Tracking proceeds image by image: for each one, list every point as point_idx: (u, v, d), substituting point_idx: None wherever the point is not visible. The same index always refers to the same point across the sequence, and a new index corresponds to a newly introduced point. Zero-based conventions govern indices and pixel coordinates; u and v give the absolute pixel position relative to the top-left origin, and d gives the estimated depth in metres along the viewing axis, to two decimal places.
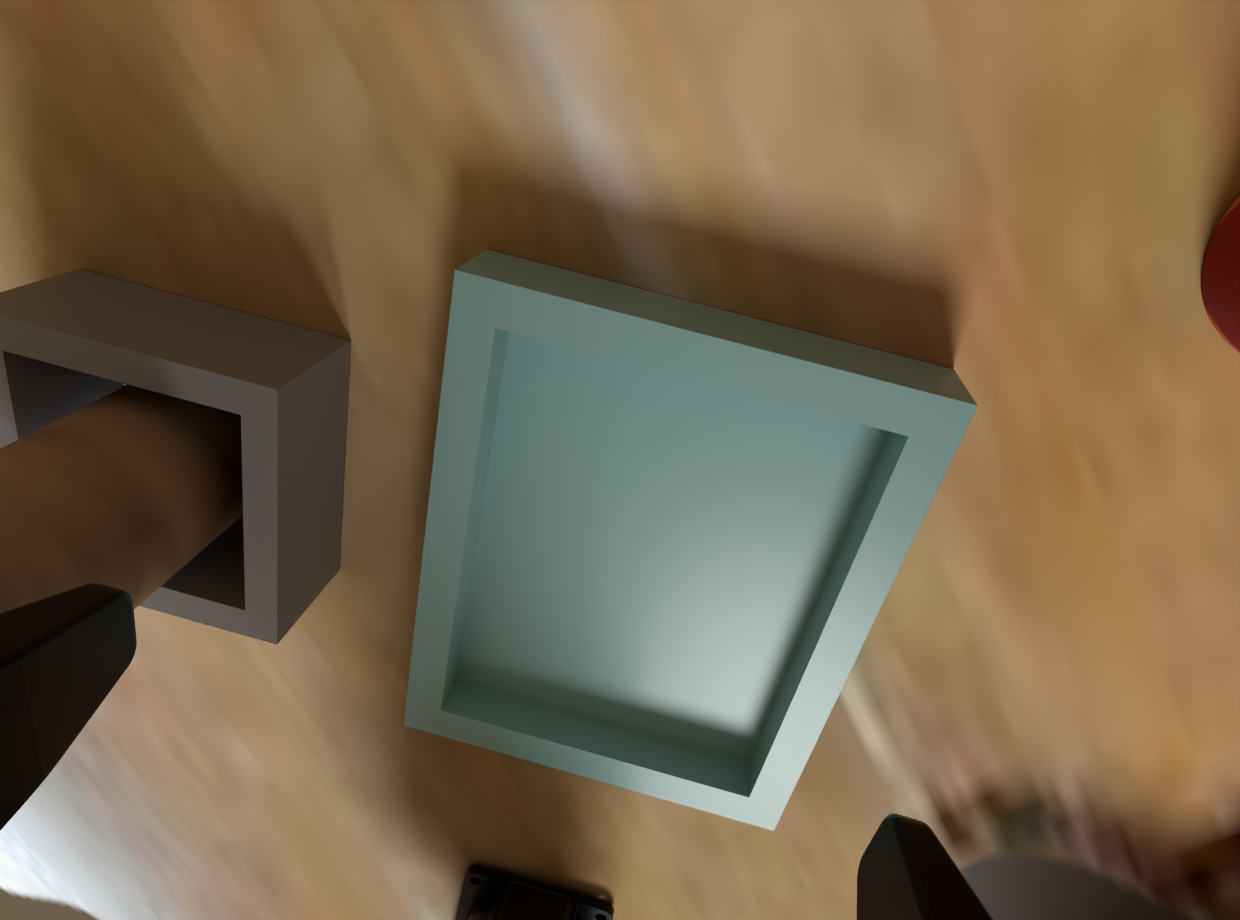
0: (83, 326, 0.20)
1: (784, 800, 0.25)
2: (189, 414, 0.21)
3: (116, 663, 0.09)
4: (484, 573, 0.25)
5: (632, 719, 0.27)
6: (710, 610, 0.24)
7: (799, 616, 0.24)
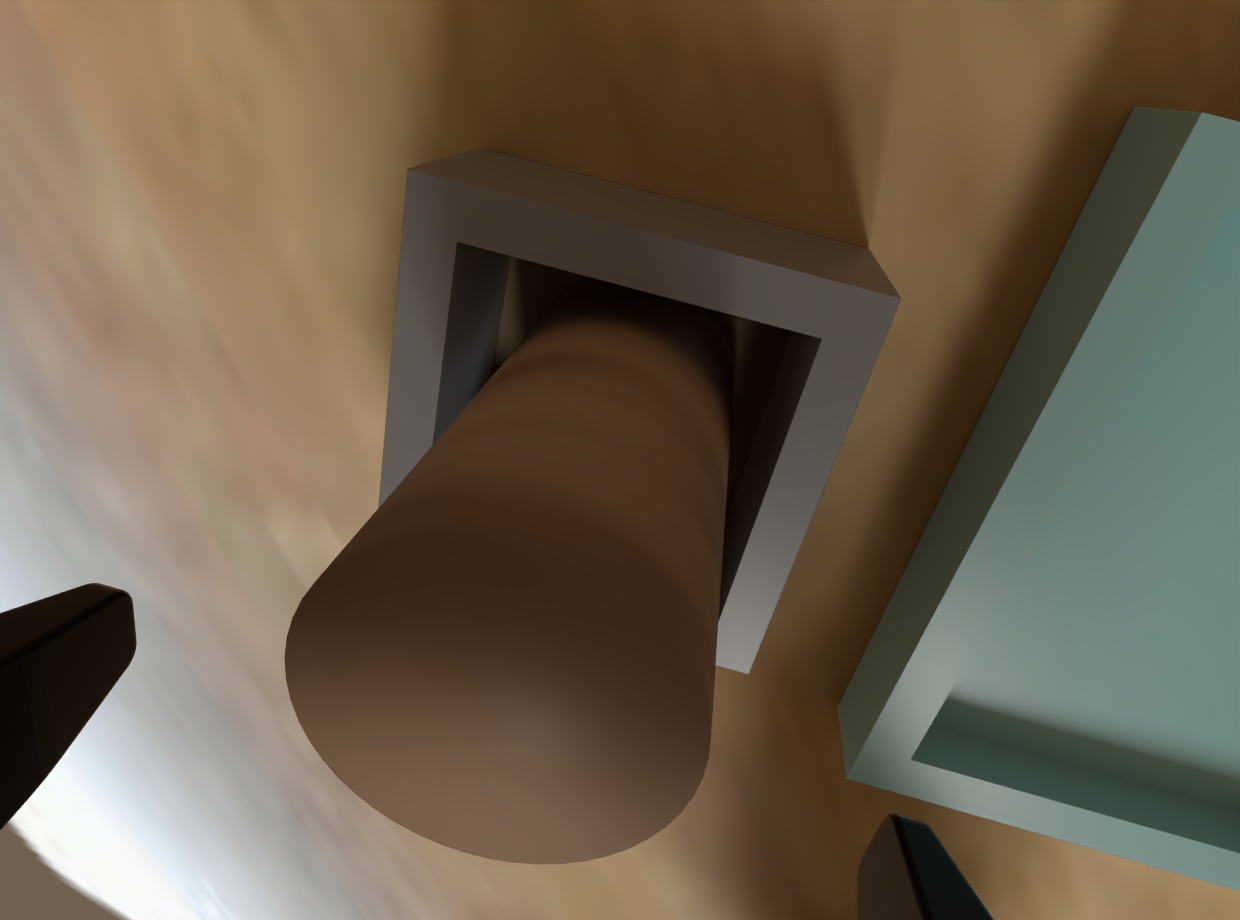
0: (578, 206, 0.14)
1: None
2: (689, 345, 0.15)
3: (116, 663, 0.09)
4: None
5: (1143, 771, 0.20)
6: None
7: None
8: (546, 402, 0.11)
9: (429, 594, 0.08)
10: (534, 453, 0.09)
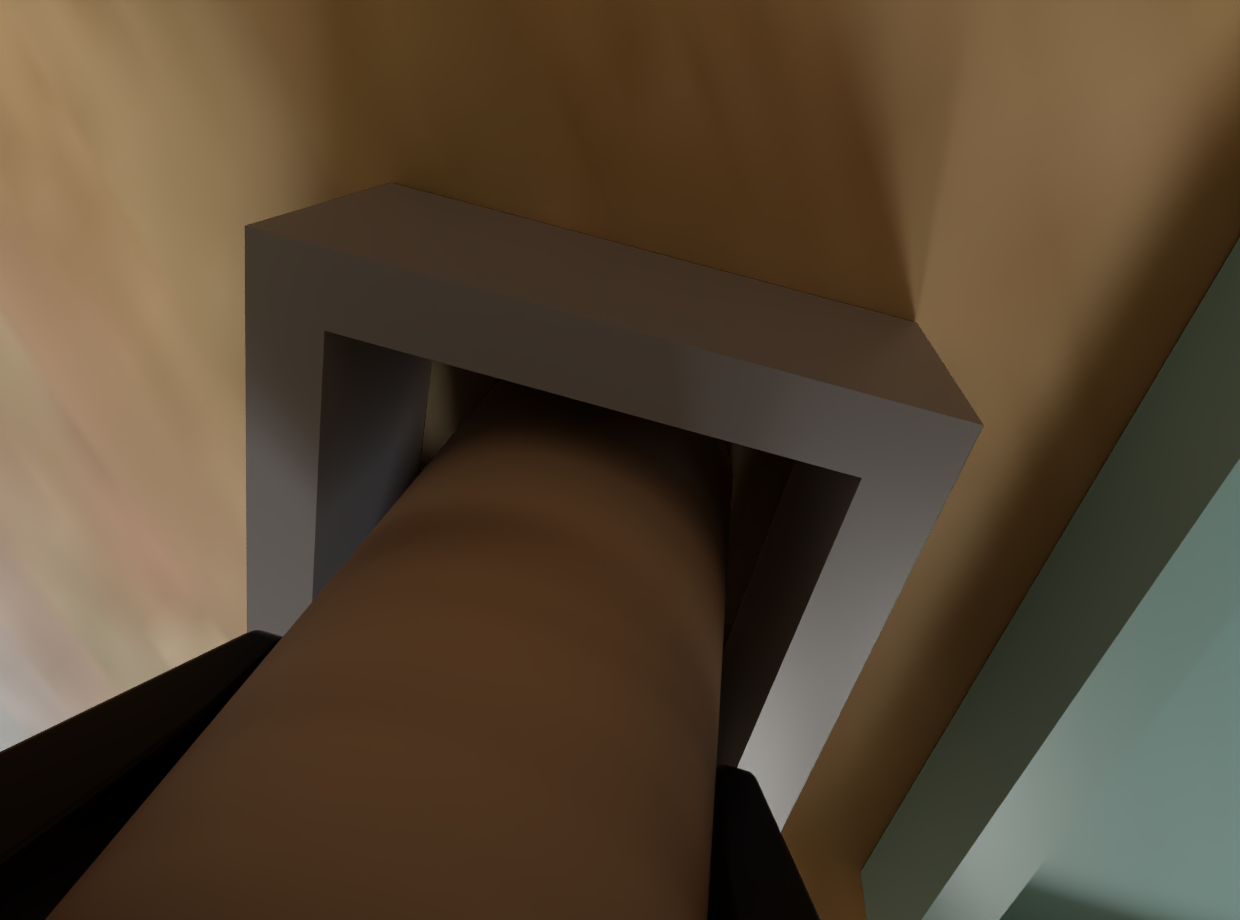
0: (503, 279, 0.09)
1: None
2: (668, 468, 0.10)
3: None
4: None
5: None
6: None
7: None
8: (412, 638, 0.06)
9: None
10: (352, 801, 0.05)
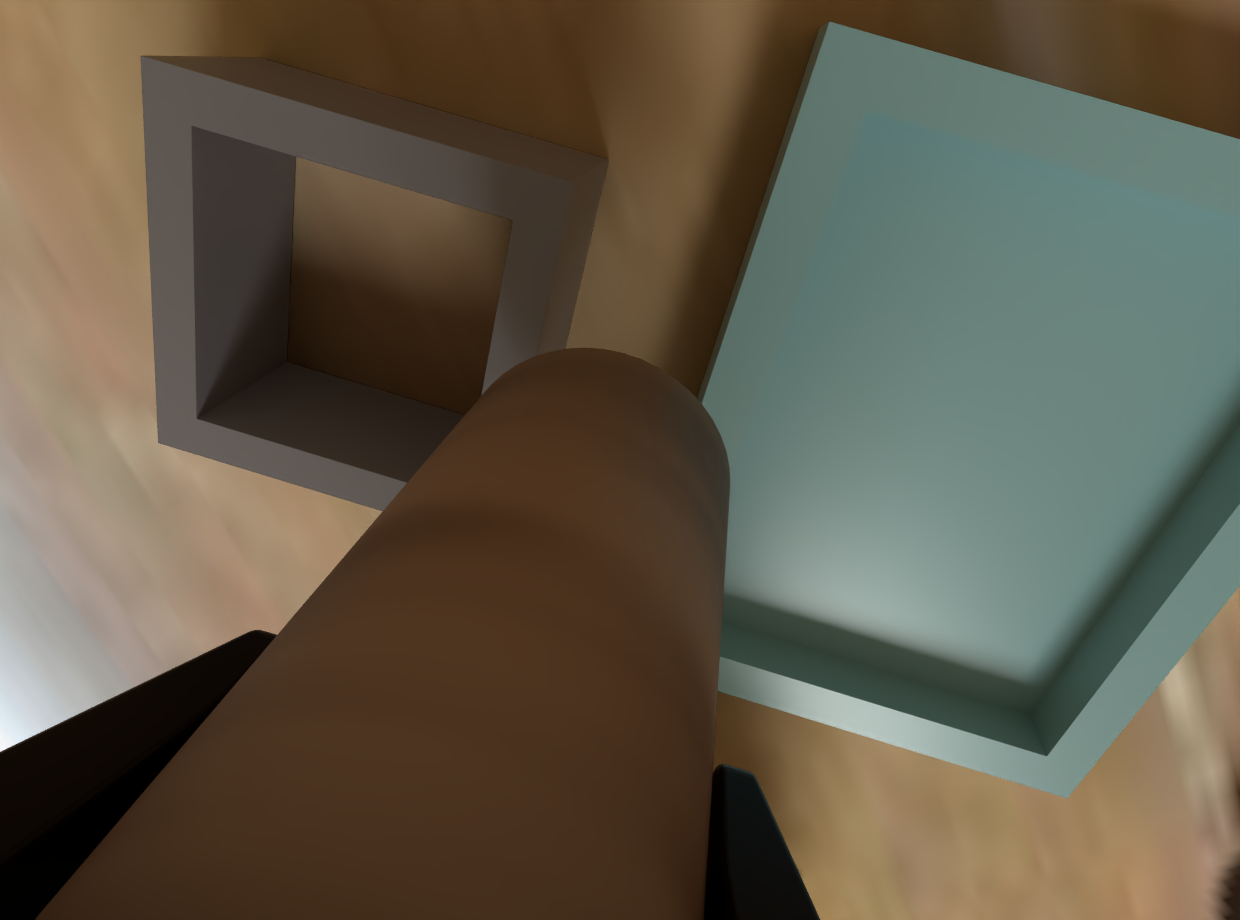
0: (301, 96, 0.15)
1: (1093, 760, 0.21)
2: (666, 465, 0.10)
3: None
4: (740, 470, 0.20)
5: (890, 661, 0.22)
6: (1028, 521, 0.19)
7: (1145, 530, 0.19)
8: (409, 634, 0.06)
9: None
10: (347, 796, 0.05)
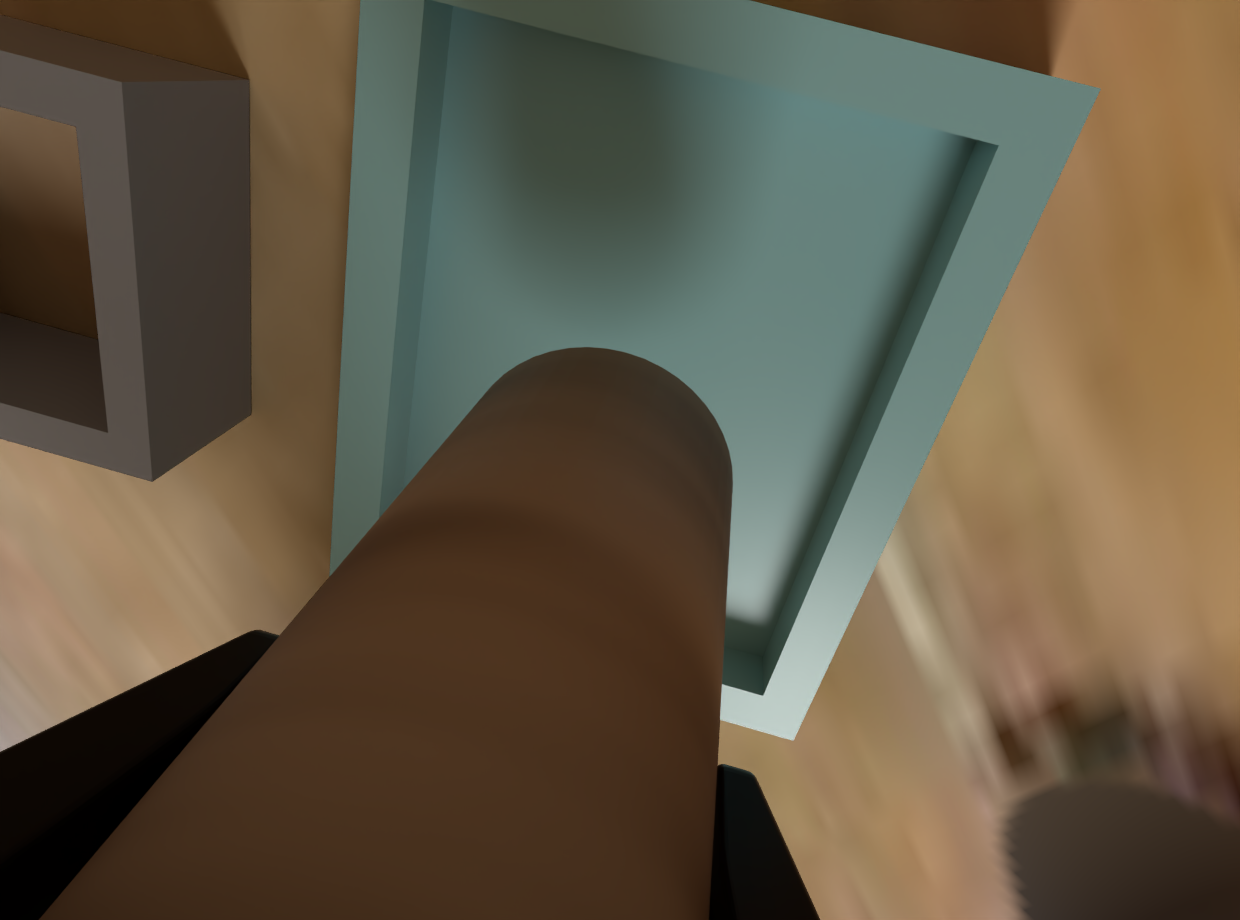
0: None
1: (808, 699, 0.20)
2: (669, 464, 0.10)
3: None
4: (427, 404, 0.19)
5: None
6: None
7: (831, 452, 0.18)
8: (413, 634, 0.06)
9: None
10: (352, 796, 0.05)
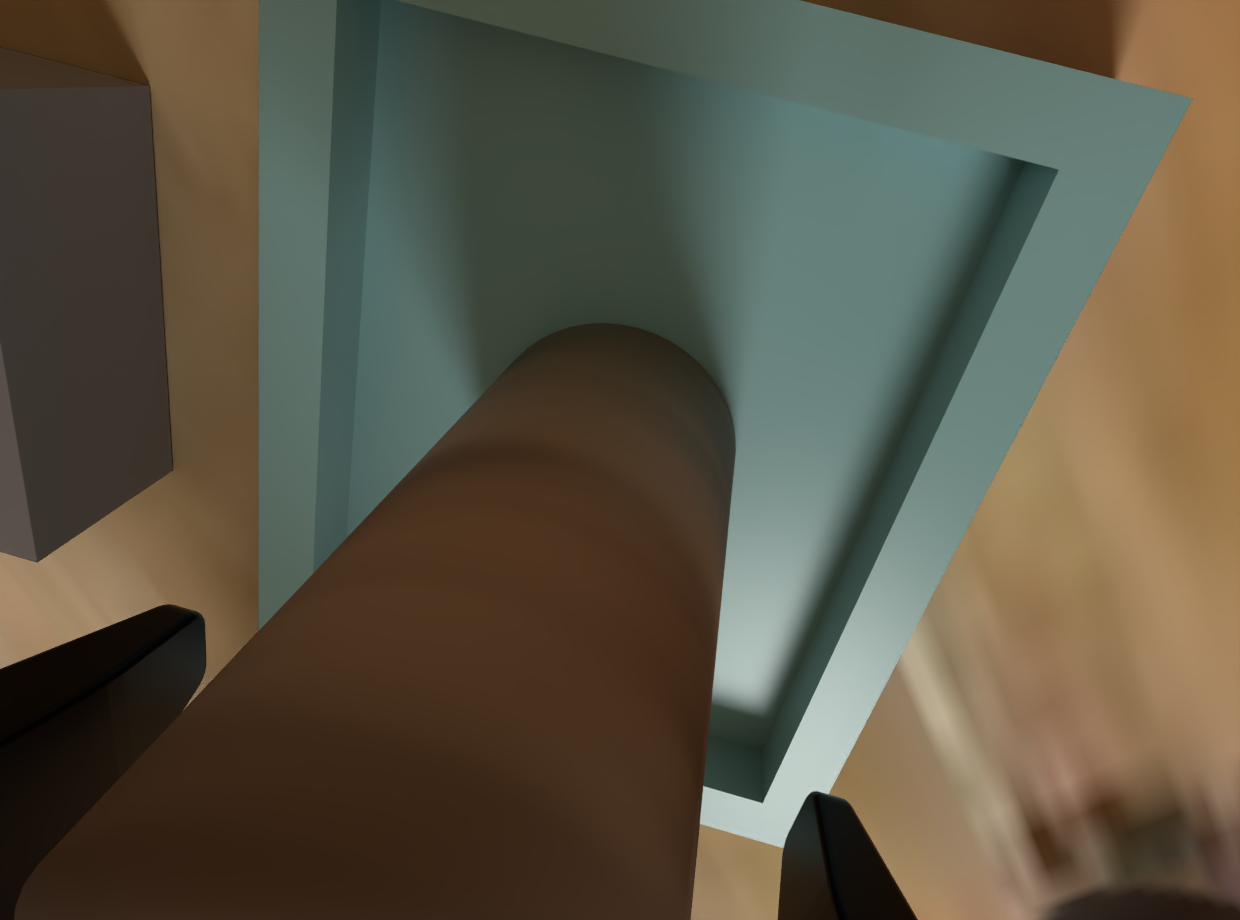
0: None
1: None
2: (676, 420, 0.12)
3: (188, 684, 0.09)
4: (369, 464, 0.17)
5: None
6: None
7: (843, 526, 0.15)
8: (457, 531, 0.08)
9: (210, 901, 0.05)
10: (416, 633, 0.06)
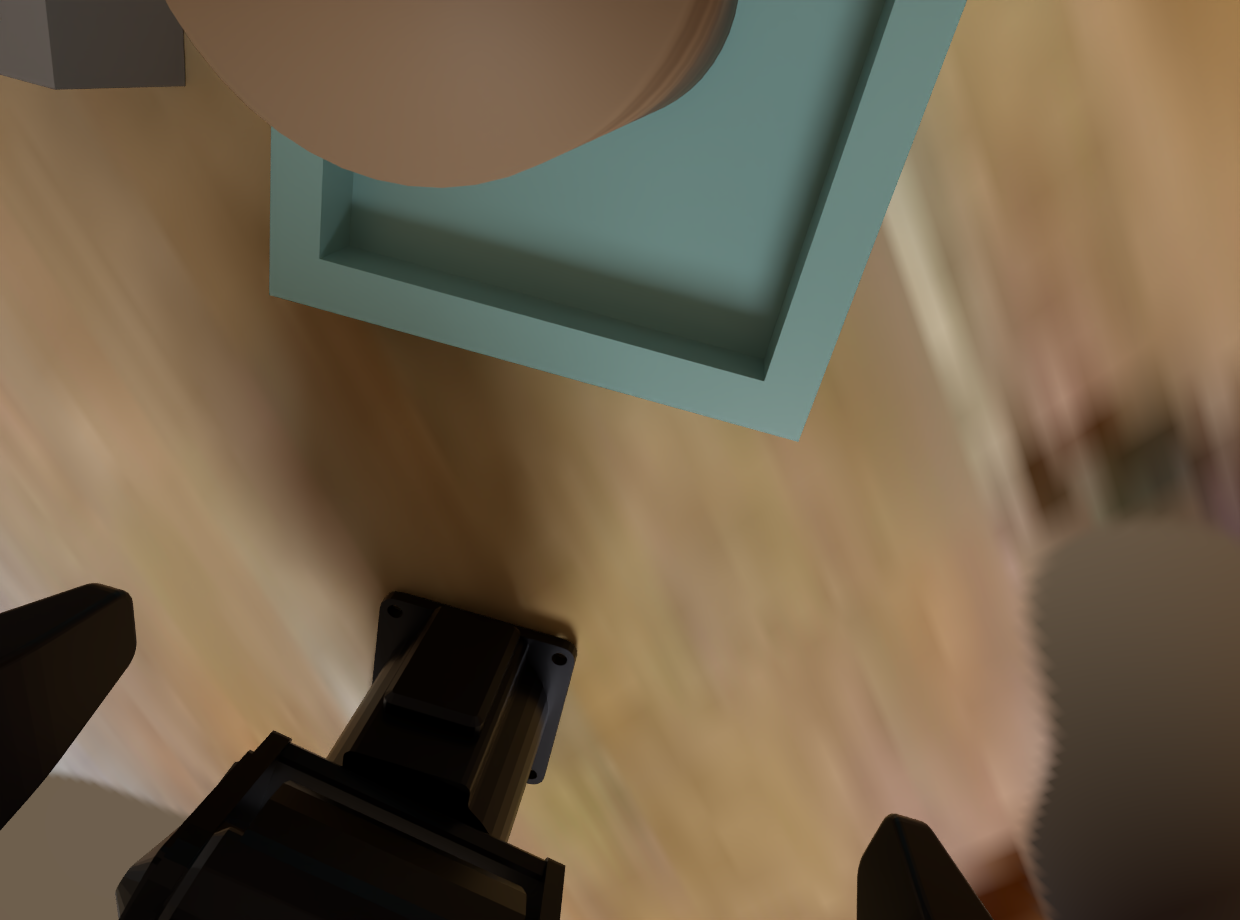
0: None
1: (816, 382, 0.17)
2: None
3: (116, 663, 0.09)
4: None
5: (597, 297, 0.19)
6: (711, 68, 0.16)
7: (845, 65, 0.16)
8: None
9: None
10: None
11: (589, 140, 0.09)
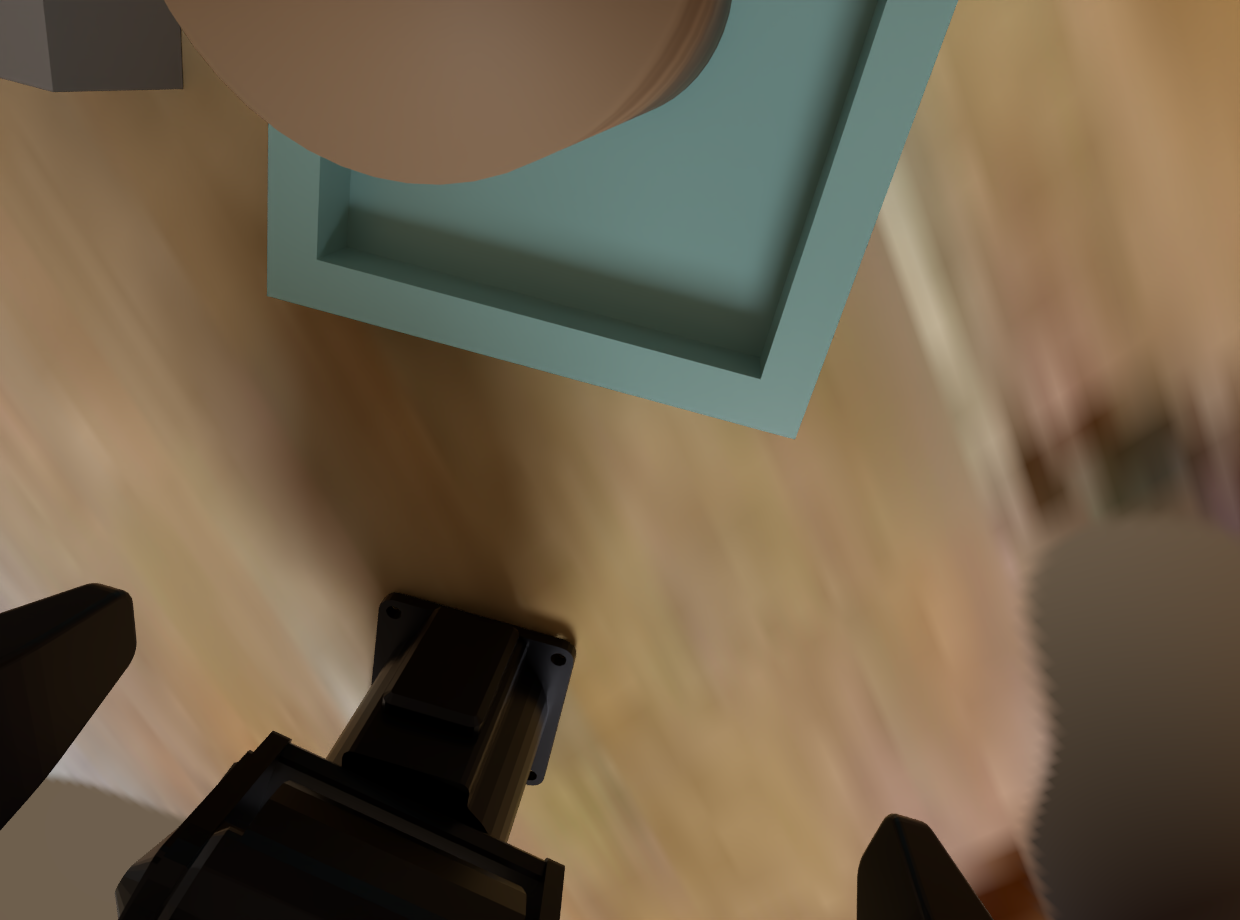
0: None
1: (812, 379, 0.17)
2: None
3: (116, 663, 0.09)
4: None
5: (594, 296, 0.19)
6: (705, 68, 0.16)
7: (839, 64, 0.16)
8: None
9: None
10: None
11: (586, 137, 0.09)
